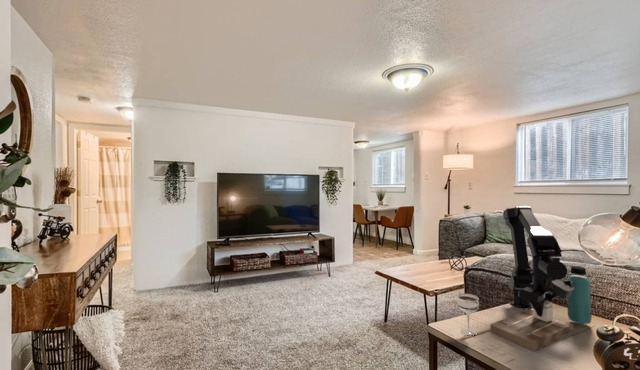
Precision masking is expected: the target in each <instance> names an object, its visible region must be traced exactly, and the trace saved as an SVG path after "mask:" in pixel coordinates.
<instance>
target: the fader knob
mask: <svg viewBox="0 0 640 370" xmlns="http://www.w3.org/2000/svg"><path fill="white" fill-rule="evenodd" d="M532 310H533V317H534V318H537V319H540V320H543V321H546V322H548V321H551V320H553V317H554V316H553V315H554V314H553V312H554V311H553V301H552V302H550V301H546V302H544V306H543V313H542V316H541V317H540V316H538V315H537V313H536V311H535V309H534V307H532Z"/></svg>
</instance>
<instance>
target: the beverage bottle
mask: <svg viewBox="0 0 640 370" xmlns="http://www.w3.org/2000/svg"><path fill="white" fill-rule="evenodd" d="M570 273H571V274H573V275H570V276H568V277H567V279H566V281H567V280H570V281H572V282H573V284H574V288H575V289H574V290H575V292H573V293H572V295H571V297H570V298H567V299H566V300H567V304H566V306H567V317H568V320H570V321H571V322H575V323H578V324H582V325H583V324H584V325H590V324H591V322H592V316H593V315H592V299H591V298H592V297H591V281H590V279H588V278H587V277H586V276H585V275H587V271H586V268H585V267H583V266H578V265H577V266H576V265H574V266H573V265H572V266H571V268H570Z"/></svg>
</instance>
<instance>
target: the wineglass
mask: <svg viewBox="0 0 640 370" xmlns="http://www.w3.org/2000/svg"><path fill="white" fill-rule="evenodd" d="M456 297H457V301H456V304H457V307H458V308H459V309H460V310H461V311H462V312H463V313H465V314H466V320H467V323H466V324H467V328H463V329H460V333H461V334H462V335H464V336H467V335H470V336H469V337H475V336H477V335H478V334H477V332H476V331H475V330H473V329H471V328H470V315H471V314H474V313H476V312H477V311H478V310H479V307H480V303H479V299H480V298H479V297H478V296H477V295H475V294H471V293H459V294H457V296H456ZM471 335H473V336H471ZM474 335H475V336H474Z"/></svg>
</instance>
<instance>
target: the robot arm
mask: <svg viewBox="0 0 640 370" xmlns="http://www.w3.org/2000/svg"><path fill="white" fill-rule="evenodd" d="M502 217H503V219H504V222H505V225H506V226H507V228H509V229H510V233H511V240H512V250H513V257H514V263H515V265H514V267H513V269H512V270H511V276H510V278H509V280H508V282H507V284H508V288H509V289H510V290H511V291H512V292H513V300H512V301H511V302H509V304H510V305H512V306H516V307H519V308H521V309H524V310H528V309H530V308H533V307H534V309H535V311H536V313H537V315H538V316H540V317H541V316H542V313H543V306H544V302H546V301H550V302H552V303H553V300H555V298H558V297H559V298H560V299H562V300H568V299H567V298H570V297H571V295H572V293H573V292H575V290H574V289H575V288H574V284H573V282H572V281H570V280H567V279H566V280H565V281H563V279H564V278H566V276H567V275H568V268H567V266H566V265H565V264H564V263H563V262H561V258H562V256H563V255H562V252H563V251H562V249H561V246H560V245H559V242H558V240H557V238H556V237H555V235H553V234H552V232H551V231H549V230H548V229H545V228H543V227H542V226H541V224H540V222H539V221H538V219H537V217H536V216H535V215H534V213H533V211H532V207H531V206H528V205H519V206H515V207H506V208H505V210H503V213H502ZM525 231H526V233H527V235H528V236H527V242H526V233H525ZM527 245H528V247H529V250H530V254H531V255H532V256H531V258H532V259H531V264H532V265H530V263H529V257H528V256H529V254H528V248H527ZM560 257H561V258H560Z"/></svg>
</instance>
